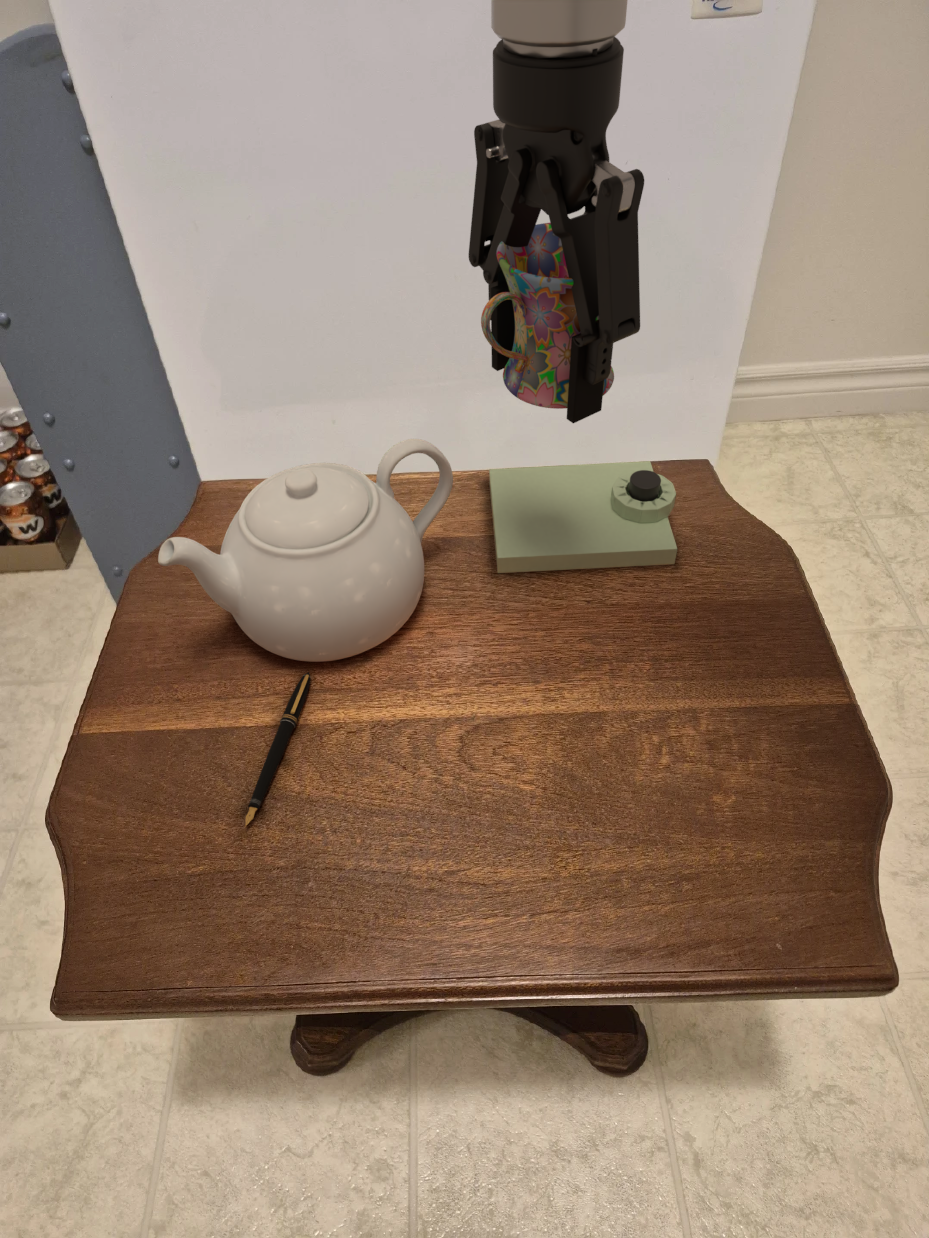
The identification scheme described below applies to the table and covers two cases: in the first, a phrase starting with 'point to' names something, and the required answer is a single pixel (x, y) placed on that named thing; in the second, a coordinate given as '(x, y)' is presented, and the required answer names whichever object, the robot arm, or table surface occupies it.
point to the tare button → (644, 485)
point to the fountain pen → (279, 744)
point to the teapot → (320, 558)
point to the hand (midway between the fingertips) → (544, 388)
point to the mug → (538, 320)
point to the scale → (578, 518)
